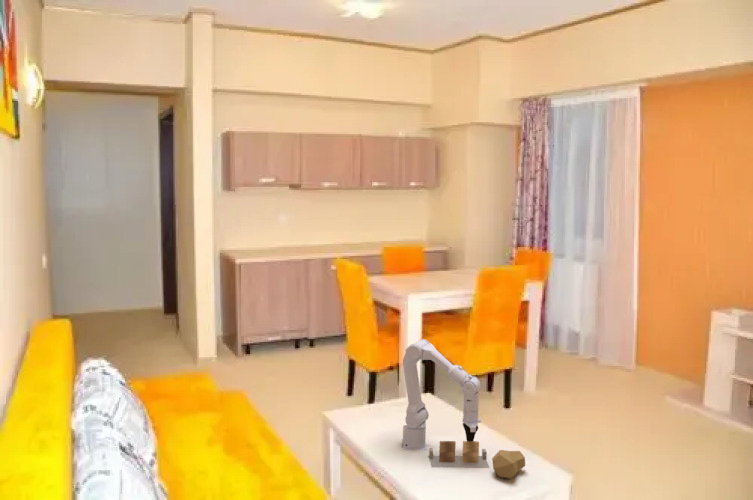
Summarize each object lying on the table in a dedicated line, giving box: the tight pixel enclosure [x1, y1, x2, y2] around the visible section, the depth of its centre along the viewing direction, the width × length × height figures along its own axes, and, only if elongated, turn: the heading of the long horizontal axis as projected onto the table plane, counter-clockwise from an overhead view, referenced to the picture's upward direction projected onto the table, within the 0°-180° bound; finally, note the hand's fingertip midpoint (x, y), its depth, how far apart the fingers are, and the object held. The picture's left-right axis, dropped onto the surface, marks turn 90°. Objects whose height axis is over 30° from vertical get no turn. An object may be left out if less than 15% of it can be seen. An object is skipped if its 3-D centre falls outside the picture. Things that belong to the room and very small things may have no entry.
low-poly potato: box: [492, 449, 526, 480], centre depth 240 cm, size 15×11×12 cm
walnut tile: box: [438, 440, 457, 462], centre depth 251 cm, size 6×1×8 cm, turn 90°
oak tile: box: [462, 440, 480, 462], centre depth 251 cm, size 6×1×8 cm, turn 90°
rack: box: [428, 447, 490, 469], centre depth 251 cm, size 22×10×4 cm, turn 90°
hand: (469, 442), depth 253 cm, fingers closed
